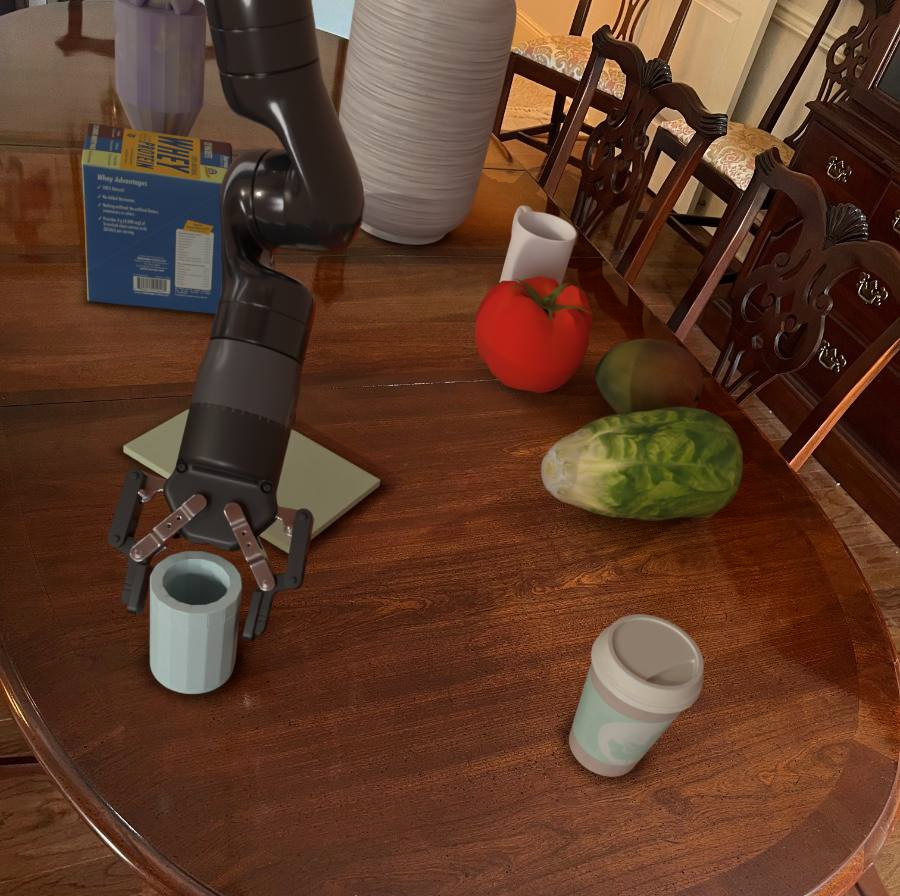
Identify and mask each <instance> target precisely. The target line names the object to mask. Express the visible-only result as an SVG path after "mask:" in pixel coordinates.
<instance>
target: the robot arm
mask: <svg viewBox="0 0 900 896" xmlns="http://www.w3.org/2000/svg"><path fill="white" fill-rule="evenodd" d="M203 4H204V5H205V9H206V14H207V22H208V23H207V25H208V29H209V33H210V37H211V43H212V48H213V53H214V58H215V62H216V67H217V71H218V75H219V76H218V77H219V82H220V86H221V89H222V94H223V96H224V99H225V102H226V105H227V106H228V108H229V109H230V110H231V111H232V112H233V113H234V114H235V115H237V116H238V117H240V118H243V119H245V120H248V121H250V122H254V123H256V124H259V125H261V126H263V127H264V128H267V129H269V130H270V131H271V132H272V133H274V134H275V136H276V137H277V139H278V140H279V142H280V143H281V145H282V147H283V148H280V147H267V146H256V147H250V148H247V149H244V150H243V151H241V152H240V153H238V155H236V156H235V157H234V159H232V163H231V164H230V166H229V167H228V169H227V171H226V173H225V175H224V178H223V181H222V184H221V190H220V205H219V206H220V227H221V274H222V285H221V295H220V299H219V303H218V306H217V310H216V314H214V320H213V324H212V327H211V330H210V331H211V332H210V337H209V341H208V344H207V347H206V349H205V353H204V356H203V357H202V360H201V362H200V366H199V368H198V372H197V375H196V379H195V382H194V387H193V392H192V395H191V400H190V404H189V408H188V409H189V412H188V416H187V421H186V425H185V429H184V433H183V437H182V441H181V446H180V450H179V454H178V458H177V462H176V467H175V469H174V471H173V473H172V475H171V476H170V477H169V478H168V479H166V478H162V477H159V476H155V475H153V474H148V473H147V472H145V471H143V470H142V469H140V468H139V467H132V468H131V467H130V468H129V469H128V471H126V475H125V478H124V481H123V485H122V488H121V491H120V493H119V497H118V500H117V504H116V508H115V510H114V514H113V517H112V520H111V524H110V527H109V530H108V533H107V536H106V541H107V543H108V545H109V546H111V547H112V548H115V549H116V550H118V551H120V553H123V554H124V555H125V556H126V558H127V560H128V564H127V570H126V574H125V577H124V583H123V586H122V590H121V593H120V598H121V603H122V604H124V605H126V613H127V614H131V615H135V616H138V615H139V616H140V615H142V614H143V612H144V610H145V606H146V601H147V597H148V592H149V590H150V575H151V574H152V572H153V570H154V568H155V566H154V565H151V563H152V561H153V560H154V559H156V558H158V557H159V556H160V555H161V554H162V553H163V552H164V551H166V550H167V549H168V548H170V547H172V546H174V545H175V544H177V542H179V541H180V540H181V539H182V538H184V539H185V540H186V541H187V542H189V543H193V544H197V545H201V546H213V547H215V548H218V549H219V550H222V551H227V552H231V553H234V552H238V551H241V553H242V554H243V556H244V558H245V560H246V562H247V564H248V566H249V568H250V570H251V572H252V574H253V576H254V577H253V578H254V579H255V581H256V583H257V587H256V590H255V589H253V590H252V593H251V598H250V602H249V606H248V611H247V615H246V619H245V624H244V628H243V632H242V636H241V637H242V638H241V639H242V640H243V641H248V642H254V641H255V640H256V636H262V635H263V634H264V633H265V632H266V631H267V629H268V623H269V619H270V615H271V611H272V608H273V607H272V606H273V603H274V598H275V596H276V595H277V593H279V592H282V591H289V590H298V589H300V588H302V586H303V585H304V582H305V581H304V580H305V575H306V570H307V564H308V558H309V552H310V548H311V547H310V546H311V541H312V540H311V535H312V529H313V523H314V517H313V514H312V513H311V512H310V511H309V510H308V509H305V508H302V509H299V510H297V509H291V508H285V507H280V506H278V504H277V489H278V485H279V481H280V476H281V472H282V468H283V464H284V459H285V455H286V451H287V447H288V442H289V438H290V434H291V430H292V429H293V427H294V426H295V423H296V420H297V408H298V402H299V399H300V393H301V391H300V390H301V380H302V373H303V368H304V363H305V359H306V354H307V350H308V346H309V342H310V337H311V335H312V330H313V326H314V322H315V317H316V308H317V307H316V306H317V303H316V297H315V295H314V293H313V291H312V290H311V289H310V288H309V287H308V286H307V285H306V284H305V283H303V282H302V281H300V280H299V279H297V278H295V277H293V276H291V275H289V274H286V273H284V272H281V271H278V270H276V262H275V261H276V255H277V252H278V249H279V250H289V251H296V252H297V251H299V252H308V253H319V254H334V253H335V254H336V253H339V252H341V251H344V250H346V249H347V248H348V247H349V246H350V245H351V244H353V243H354V241H355V240H356V238H357V236H358V235H359V233H360V230H361V229H362V228H361V225H362V222H363V217H364V208H365V201H364V189H363V184H362V180H361V176H360V172H359V169H358V166H357V163H356V161H355V158H354V156H353V153H352V151H351V148H350V146H349V143H348V141H347V139H346V136H345V134H344V131H343V129H342V126H341V124H340V121H339V115H338V113H337V110H336V107H335V105H334V103H333V100H332V98H331V94H330V92H329V89H328V87H327V84H326V81H325V78H324V76H323V69H322V61H321V56H320V54H321V53H320V48H319V47H320V46H319V41H318V34H317V26H316V21H315V13H314V6H313V0H203ZM161 493H162V494H163V497H164V499H165V502H166V504H167V507H168V509H169V511H170V514H169V515H168V516H167V517H165V519H163V520H162V521H161V522H160V523H158V524H157V525H156V526H154V527H153V528H152V529H151V530H150V532H149V533H147V535H146V536H144V537H143V538H142V539H140V540H137V539H136V538H135V535H136V532H137V528H138V525H139V522H140V519H141V516H142V513H143V509H144V507H145V504H150V503H152V502H153V501H154V500H155V498H156V496H157V495H158V494H161ZM277 519H278V520H280V521H281V522H282V523H283V531H284V533H285V534H286V535H287V536H289V537H292V538H291V543H290V549H289V554H288V555H287V562H286V567H285V572H283V573H275V572H274V570H273V567H272V564H271V563H270V560H269V558H268V554H267V552H266V550H265V548H264V546H263V544H262V541H261V539H260V536H259V535H260V534H261V533H263V532H264V531H265V530H266V529H267V528H269V527H270V526H271V525H272V524H273V523H274V522H275V521H276V520H277Z"/></svg>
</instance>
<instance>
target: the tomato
mask: <svg viewBox="0 0 900 896" xmlns="http://www.w3.org/2000/svg"><path fill="white" fill-rule="evenodd" d="M516 280H518V279H516ZM518 281H520V282H519V283H517V282H516V281H504V280H503V281H501V282H500V281H499V282H500V283H496V284H495V285H494V286H493V287H491V288H490V289H489V290H488V292H486V294H485V295H484V297H483V298H482V300H481V301H480V303H479V307H478V310H477V313H476V316H475V327H474V329H475V330H474V331H475V332H474V343H475V347H476V352H477V354H478V356H479V358H480V359H481V361H482V362H483V363H484V364H485V365H487V367H488V369H489V371H490V374H492V375H493V376H494V378H496V379H497V380H498V381H499V382H500V383H501V384H502V385H504V386H505V387H508V388H510V389H511V388H512V389H513V390H518V391H526V392H531V393H535V394H544V393H549V392H553V391H555V390H558V389H560V388H561V387H562V386H563V385H566V383H568V382H569V381H570V380H571V378H572V377H573V376H574V375H575V374H576V372H577V371H578V369H579V367H580V365H582V362H583V361H584V359H585V357H586V354H587V351H588V347H589V344H590V333H591V330H592V324H593V323H592V321H593V312H592V310H591V307H590V303H589V300H588V297H587V294H586V293H585V292H584V291H583V289H581V288H580V287H579V286H576V285H573V284H572V285H570V282H567V283H562V284H561V285H560V286H559V284H558V283H557V281H556V279H552V278H546V277H541V276H540V277H534V278H528V279H525V280H523V281H521V280H518Z"/></svg>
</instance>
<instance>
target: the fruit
mask: <svg viewBox="0 0 900 896" xmlns="http://www.w3.org/2000/svg"><path fill="white" fill-rule="evenodd" d="M594 377H595V383H596V385H597V388H598V390H599V392H600V394H601V395H602V397H603V399H604V400H605V402H606V403H607V404H608V405H609V407H610V408H611V409H612V410H613V411H614V412H615V414H620V413H628V412H641V411H651V410H656V409H662V408H672V407H688V408H695V409H697V405H698V404H699V402H700V400H701V394H702V390H703V371H702V368H701V366H700V364H699V362H698V360H697V359H696V358H695V356H694V355H693V354H691V353H690V352H689V350H687V349H686V348H684V347H682V346H680V345H678V344H675V343H673V342H669V341H666V340H661V339H654V338H638V339H632V340H628V341H624V342H622V343H619V344H616V345H615V346H613V347H612V348H610V349H609V350H608V351H607V352H605V353H604V354H603V356H602V357H601V359H600V360H599V361H598V363H597V366H596V367H595V371H594Z"/></svg>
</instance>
